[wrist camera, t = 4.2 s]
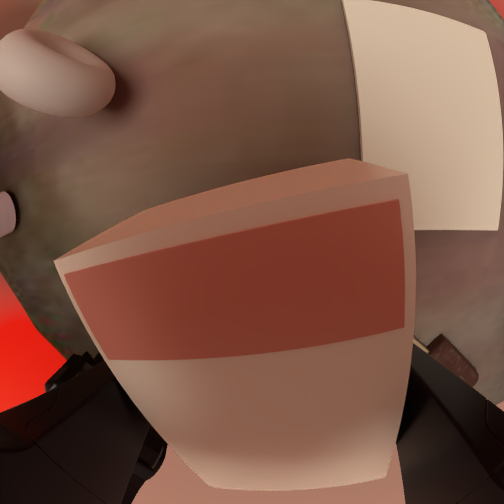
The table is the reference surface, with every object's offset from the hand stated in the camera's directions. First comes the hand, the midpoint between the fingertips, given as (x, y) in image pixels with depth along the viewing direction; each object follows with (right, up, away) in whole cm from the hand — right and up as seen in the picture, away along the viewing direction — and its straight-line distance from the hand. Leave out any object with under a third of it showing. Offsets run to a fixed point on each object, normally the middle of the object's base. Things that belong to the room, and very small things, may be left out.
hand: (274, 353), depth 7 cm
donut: (-12, +16, +9) cm, 22 cm away
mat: (+12, +12, +6) cm, 18 cm away
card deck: (0, +1, +1) cm, 2 cm away
